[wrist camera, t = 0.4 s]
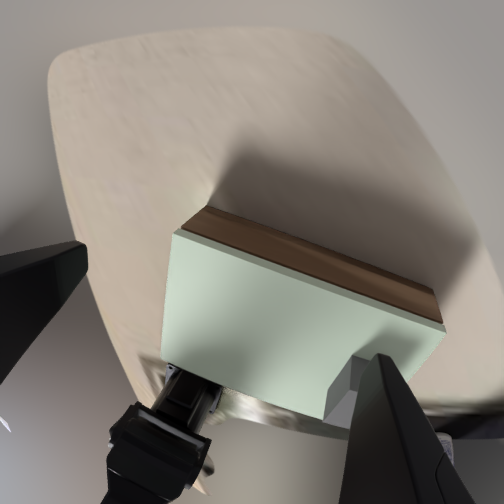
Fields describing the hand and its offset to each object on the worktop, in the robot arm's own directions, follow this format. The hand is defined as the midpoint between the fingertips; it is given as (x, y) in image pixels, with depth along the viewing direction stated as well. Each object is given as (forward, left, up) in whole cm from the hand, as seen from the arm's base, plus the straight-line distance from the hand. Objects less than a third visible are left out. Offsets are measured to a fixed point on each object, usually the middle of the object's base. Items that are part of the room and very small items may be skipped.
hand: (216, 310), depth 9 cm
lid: (-10, -3, -10) cm, 14 cm away
